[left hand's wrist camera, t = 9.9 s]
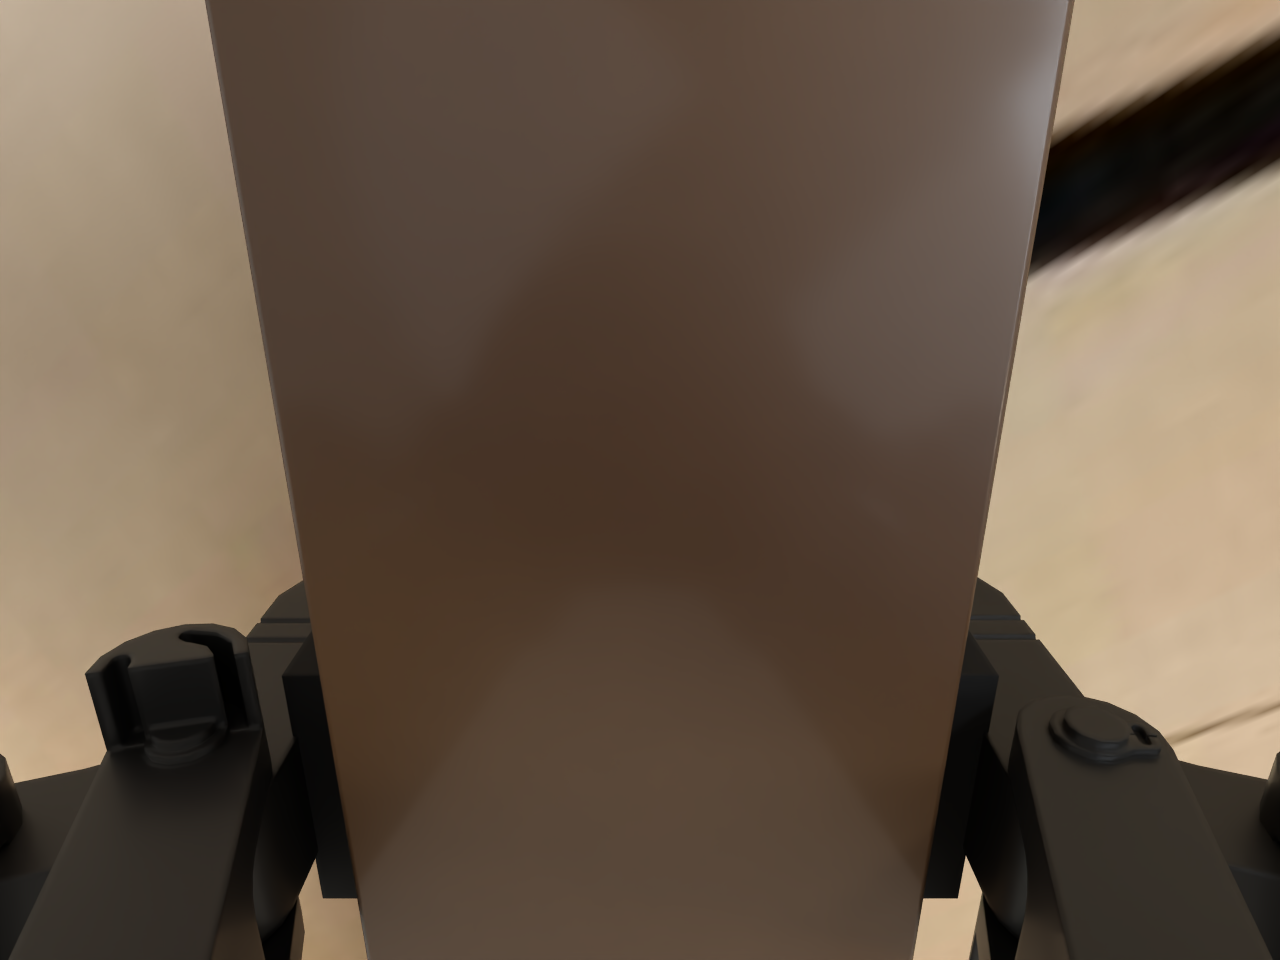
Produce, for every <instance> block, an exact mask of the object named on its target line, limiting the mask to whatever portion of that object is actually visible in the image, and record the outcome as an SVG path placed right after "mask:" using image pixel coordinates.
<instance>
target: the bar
mask: <svg viewBox="0 0 1280 960" xmlns="http://www.w3.org/2000/svg"><path fill="white" fill-rule="evenodd" d="M205 3H206V9H207V14H208V20H209V26H210V32H211V38H212V44H213V50H214V56H215V62H216V68H217V73H218V79H219V85H220V91H221V97H222V103H223V109H224V115H225V121H226V126H227V132H228V138H229V144H230V150H231V156H232V162H233V168H234V174H235V180H236V185H237V191H238V197H239V203H240V209H241V215H242V221H243V227H244V233H245V239H246V244H247V250H248V256H249V262H250V268H251V274H252V280H253V286H254V292H255V297H256V303H257V309H258V315H259V321H260V327H261V333H262V339H263V345H264V351H265V356H266V362H267V368H268V374H269V380H270V386H271V392H272V398H273V404H274V409H275V415H276V421H277V427H278V433H279V439H280V445H281V451H282V457H283V463H284V468H285V474H286V480H287V486H288V492H289V498H290V504H291V510H292V516H293V522H294V527H295V533H296V539H297V545H298V551H299V557H300V563H301V569H302V575H303V580H304V586H305V592H306V598H307V604H308V610H309V616H310V622H311V628H312V634H313V639H314V645H315V651H316V657H317V663H318V669H319V675H320V681H321V687H322V693H323V698H324V704H325V710H326V716H327V722H328V728H329V734H330V740H331V746H332V751H333V757H334V763H335V769H336V775H337V781H338V787H339V793H340V799H341V805H342V810H343V816H344V822H345V828H346V834H347V840H348V846H349V852H350V858H351V863H352V869H353V875H354V881H355V887H356V893H357V899H358V905H359V911H360V917H361V922H362V928H363V934H364V940H365V946H366V952H367V958H368V960H913V955H914V949H915V944H916V938H917V932H918V926H919V920H920V914H921V908H922V902H923V896H924V890H925V884H926V878H927V872H928V866H929V860H930V855H931V849H932V843H933V837H934V831H935V825H936V819H937V813H938V807H939V801H940V795H941V789H942V783H943V777H944V771H945V766H946V760H947V754H948V748H949V742H950V736H951V730H952V724H953V718H954V712H955V706H956V700H957V694H958V688H959V682H960V677H961V671H962V665H963V659H964V653H965V647H966V641H967V635H968V629H969V623H970V617H971V611H972V605H973V599H974V593H975V588H976V582H977V576H978V570H979V564H980V558H981V552H982V546H983V540H984V534H985V528H986V522H987V516H988V510H989V504H990V499H991V493H992V487H993V481H994V475H995V469H996V463H997V457H998V451H999V445H1000V439H1001V433H1002V427H1003V421H1004V415H1005V410H1006V404H1007V398H1008V392H1009V386H1010V380H1011V374H1012V368H1013V362H1014V356H1015V350H1016V344H1017V338H1018V332H1019V326H1020V321H1021V315H1022V309H1023V303H1024V297H1025V291H1026V285H1027V279H1028V273H1029V267H1030V261H1031V255H1032V249H1033V243H1034V237H1035V232H1036V226H1037V220H1038V214H1039V208H1040V202H1041V196H1042V190H1043V184H1044V178H1045V172H1046V166H1047V160H1048V154H1049V148H1050V143H1051V137H1052V131H1053V125H1054V119H1055V113H1056V107H1057V101H1058V95H1059V89H1060V83H1061V77H1062V71H1063V65H1064V59H1065V54H1066V48H1067V42H1068V36H1069V30H1070V24H1071V18H1072V12H1073V6H1074V0H205Z"/></svg>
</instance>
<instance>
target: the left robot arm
mask: <svg viewBox="0 0 1280 960" xmlns="http://www.w3.org/2000/svg"><path fill="white" fill-rule="evenodd" d="M85 676H86V679H87V683H88V686H89V690H90V693H91V697H92V700H93V704H94V707H95V710H96V714H97V717H98V721H99V724H100V728H101V731H102V735H103V738H104V742H105V745H106V749H107V752H106V754H105V756H104V758H103V760H102V762H101V765H97V766H93V767H90V768H86V769H82V770H77V771H72V772H67V773H62V774H57V775H52V776H48V777H43V778H38V779H33V780H28V781H23V782H18V783H14V782H13V779H12V776H11V773H10V770H9V767H8V764H7V761H6V758H5V757H4V756H2V755H1V754H0V960H301V959H302V950H303V942H304V933H305V931H304V924H303V917H302V911H301V906H300V901H299V893H300V891H301V889H302V887H303V885H304V882H305V880H306V878H307V876H308V873H309V871H310V869H311V867H312V864H313V862H314V860H315V858H316V864H317V869H318V874H319V880H320V885H321V891H322V896H323V898H357V893H356V887H355V881H354V875H353V869H352V863H351V858H350V852H349V846H348V840H347V834H346V828H345V822H344V816H343V810H342V805H341V799H340V793H339V787H338V781H337V775H336V769H335V763H334V757H333V751H332V746H331V740H330V734H329V728H328V722H327V716H326V710H325V704H324V698H323V693H322V687H321V681H320V675H319V669H318V663H317V657H316V651H315V645H314V639H313V634H312V628H311V622H310V616H309V610H308V604H307V598H306V592H305V586H304V580H303V581H301V582H300V583H298V584H297V585H295V586H293V587H292V588H290V589H289V590H287V591H285V592H284V593H282V594H281V595H279V596H278V597H277V599H276V600H275V601H274V602H273V604H272V605H271V606H270V608H269V609H268V610H267V611H266V613H265V614H264V615H263V617H262V618H261V623H257V624H256V625H255V627H254V628H253V629H252V631H251V632H250V633H249V634H248V636H247V637H245V636H243V635H242V634H241V633H240V632H238V631H237V630H236V629H234V628H230V627H226V626H221V625H217V624H185V625H180V626H175V627H170V628H166V629H161V630H156V631H153V632H150V633H147V634H145V635H142V636H140V637H137V638H134V639H132V640H129V641H126V642H124V643H123V644H121V645H119V646H118V647H116V648H114V649H113V650H111V651H109V652H108V653H106V654H105V655H103V656H101V657H100V658H99V659H98V660H97V661H96V662H95V663H94V664H93V666H92V667H91V668H90V669H89V670H88V671H87V672H86V673H85ZM965 856H967V859H968V861H969V863H970V865H971V867H972V870H973V872H974V874H975V876H976V879H977V881H978V883H979V885H980V887H981V890H982V896H981V901H980V906H979V911H978V916H977V921H976V926H975V931H974V936H973V941H972V946H971V951H970V956H969V960H1280V752H1279V753H1277V755H1276V758H1275V761H1274V764H1273V767H1272V769H1271V772H1270V775H1269V778H1268V780H1266V779H1262V778H1257V777H1252V776H1247V775H1242V774H1237V773H1232V772H1227V771H1222V770H1217V769H1213V768H1208V767H1203V766H1198V765H1194V764H1190V763H1187V762H1183V761H1179V760H1178V759H1177V757H1176V754H1175V752H1174V750H1173V749H1172V747H1171V746H1170V745H1169V744H1168V742H1167V741H1166V740H1165V738H1164V737H1163V736H1162V735H1161V733H1160V732H1159V731H1158V730H1156V729H1155V728H1154V727H1152V726H1151V725H1149V724H1148V723H1147V722H1145V721H1144V720H1142V719H1141V718H1140V717H1138V716H1137V715H1135V714H1133V713H1130V712H1128V711H1126V710H1124V709H1121V708H1119V707H1117V706H1115V705H1112V704H1110V703H1108V702H1104V701H1099V700H1095V699H1091V698H1087V697H1084V696H1083V694H1082V693H1081V692H1080V691H1079V689H1078V688H1077V687H1076V686H1075V684H1074V683H1073V682H1072V680H1071V679H1070V678H1069V677H1068V675H1067V674H1066V673H1065V672H1064V670H1063V669H1062V668H1061V667H1060V665H1059V664H1058V663H1057V661H1056V660H1055V659H1054V658H1053V656H1052V655H1051V654H1050V653H1049V651H1048V650H1047V649H1046V648H1045V646H1044V645H1043V644H1042V642H1041V641H1040V640H1036V638H1035V634H1034V632H1033V631H1032V630H1031V628H1030V627H1029V626H1028V625H1027V623H1026V622H1025V621H1024V620H1021V619H1020V615H1019V613H1018V612H1017V611H1016V609H1015V608H1014V607H1013V606H1012V604H1011V603H1010V602H1009V601H1008V599H1007V598H1006V597H1005V596H1004V594H1003V593H1002V592H1000V591H999V590H997V589H995V588H994V587H992V586H991V585H989V584H987V583H986V582H984V581H983V580H981V579H979V578H978V577H977V582H976V588H975V593H974V599H973V605H972V611H971V617H970V623H969V629H968V635H967V641H966V647H965V653H964V659H963V665H962V671H961V677H960V682H959V688H958V694H957V700H956V706H955V712H954V718H953V724H952V730H951V736H950V742H949V748H948V754H947V760H946V766H945V771H944V777H943V783H942V789H941V795H940V801H939V807H938V813H937V819H936V825H935V831H934V837H933V843H932V849H931V855H930V860H929V866H928V872H927V878H926V884H925V890H924V896H923V898H958V894H959V889H960V883H961V878H962V873H963V867H964V862H965Z"/></svg>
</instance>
